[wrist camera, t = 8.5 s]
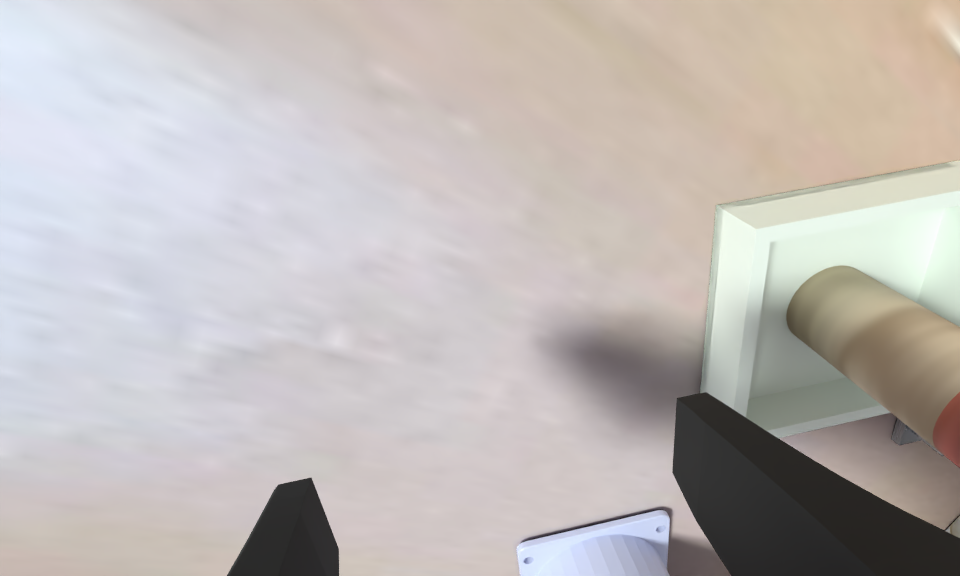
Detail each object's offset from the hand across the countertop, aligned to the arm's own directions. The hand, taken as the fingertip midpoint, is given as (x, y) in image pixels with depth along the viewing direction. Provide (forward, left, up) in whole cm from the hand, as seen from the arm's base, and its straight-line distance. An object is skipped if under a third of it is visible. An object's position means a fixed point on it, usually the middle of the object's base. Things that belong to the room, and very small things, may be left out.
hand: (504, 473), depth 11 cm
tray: (-5, -16, -10) cm, 19 cm away
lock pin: (-5, -16, -10) cm, 19 cm away
